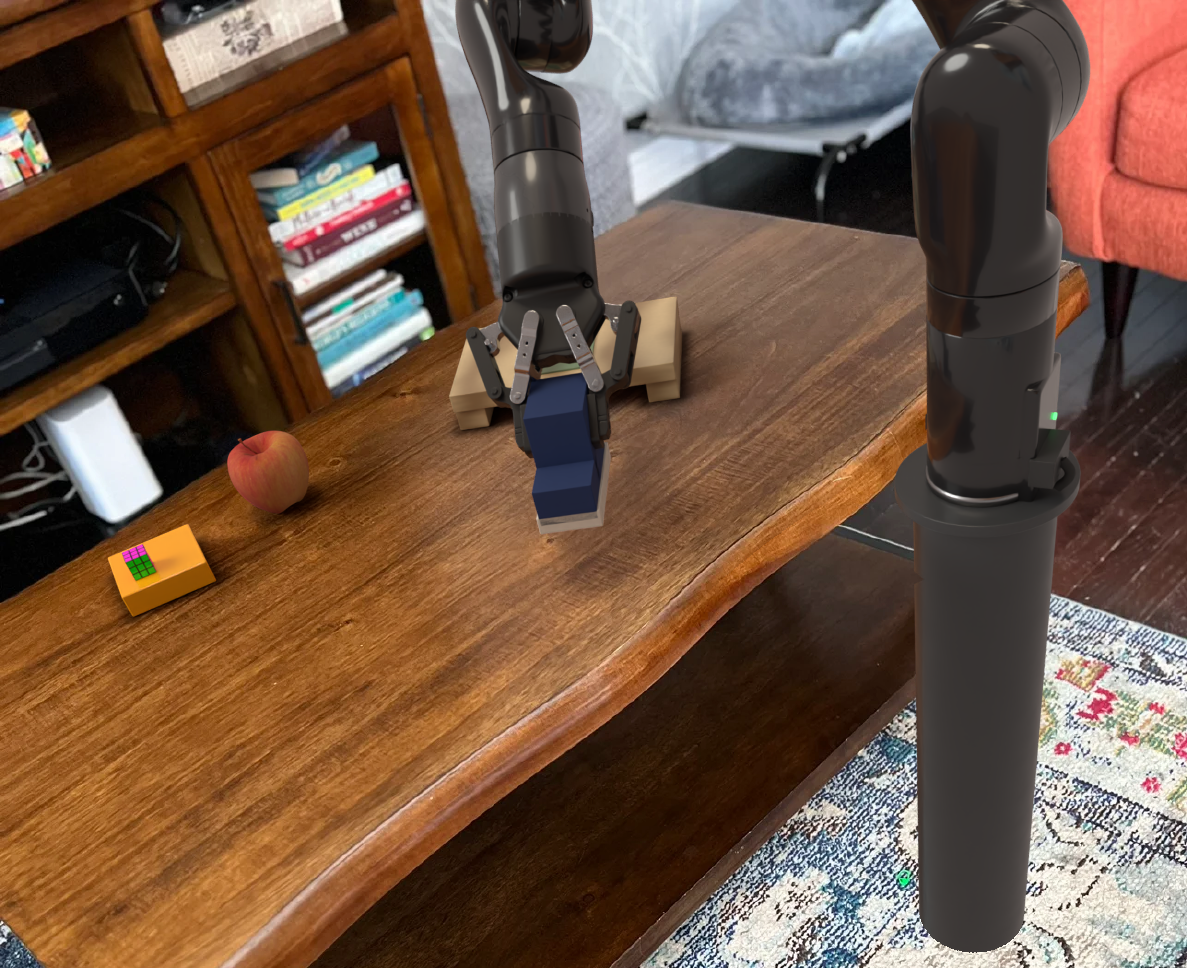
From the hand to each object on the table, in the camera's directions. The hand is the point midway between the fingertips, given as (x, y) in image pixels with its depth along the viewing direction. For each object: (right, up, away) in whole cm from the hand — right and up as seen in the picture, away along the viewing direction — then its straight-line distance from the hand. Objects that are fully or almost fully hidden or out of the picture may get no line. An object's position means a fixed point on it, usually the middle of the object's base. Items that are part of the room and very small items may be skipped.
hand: (565, 450), depth 95 cm
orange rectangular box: (-37, -7, +19) cm, 42 cm away
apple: (-28, +1, +24) cm, 37 cm away
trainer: (+1, -3, +3) cm, 4 cm away
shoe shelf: (0, +15, +30) cm, 33 cm away
